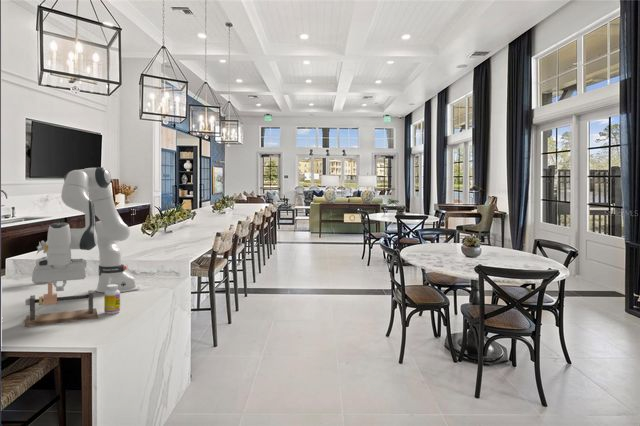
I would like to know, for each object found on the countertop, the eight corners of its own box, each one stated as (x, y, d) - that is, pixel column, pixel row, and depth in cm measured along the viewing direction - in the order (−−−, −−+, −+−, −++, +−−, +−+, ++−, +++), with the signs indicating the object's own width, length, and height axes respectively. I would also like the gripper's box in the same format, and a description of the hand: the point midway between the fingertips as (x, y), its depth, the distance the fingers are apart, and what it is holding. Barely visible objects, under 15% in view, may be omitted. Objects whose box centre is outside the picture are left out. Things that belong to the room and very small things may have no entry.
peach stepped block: (57, 301, 189) (56, 282, 188) (56, 303, 185) (56, 284, 184) (43, 302, 186) (43, 283, 185) (43, 305, 182) (43, 285, 182)
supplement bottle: (116, 314, 196) (116, 287, 196) (101, 314, 196) (101, 287, 195) (122, 310, 203) (122, 283, 202) (108, 310, 203) (108, 283, 202)
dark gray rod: (90, 298, 195) (90, 291, 195) (90, 300, 192) (90, 293, 192) (26, 305, 182) (26, 296, 182) (25, 307, 179) (25, 299, 179)
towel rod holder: (96, 311, 200) (96, 288, 199) (97, 318, 191) (97, 293, 190) (26, 319, 186) (26, 294, 185) (24, 326, 177) (24, 300, 176)
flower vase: (59, 277, 265) (58, 237, 263) (64, 283, 251) (64, 241, 249) (34, 279, 257) (33, 238, 255) (38, 286, 243) (38, 242, 241)
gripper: (86, 257, 194) (86, 286, 195) (32, 260, 184) (32, 291, 185) (86, 259, 189) (87, 290, 190) (31, 262, 178) (31, 294, 179)
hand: (59, 290), depth 187 cm, fingers closed
